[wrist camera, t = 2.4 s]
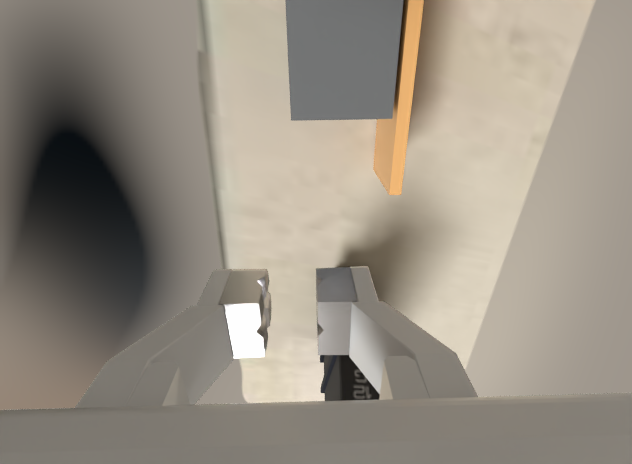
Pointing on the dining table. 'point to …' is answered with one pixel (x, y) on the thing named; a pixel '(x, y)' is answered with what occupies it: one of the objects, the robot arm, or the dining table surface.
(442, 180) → the dining table surface
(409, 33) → the side door
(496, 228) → the dining table surface
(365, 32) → the block
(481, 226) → the dining table surface
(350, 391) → the magazine
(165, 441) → the robot arm
